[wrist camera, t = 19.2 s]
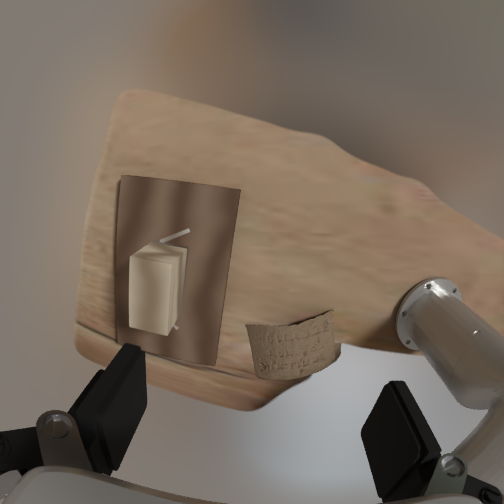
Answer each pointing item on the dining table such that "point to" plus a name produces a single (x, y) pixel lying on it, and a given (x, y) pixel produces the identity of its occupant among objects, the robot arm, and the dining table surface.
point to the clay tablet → (293, 348)
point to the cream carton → (157, 286)
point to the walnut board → (198, 262)
